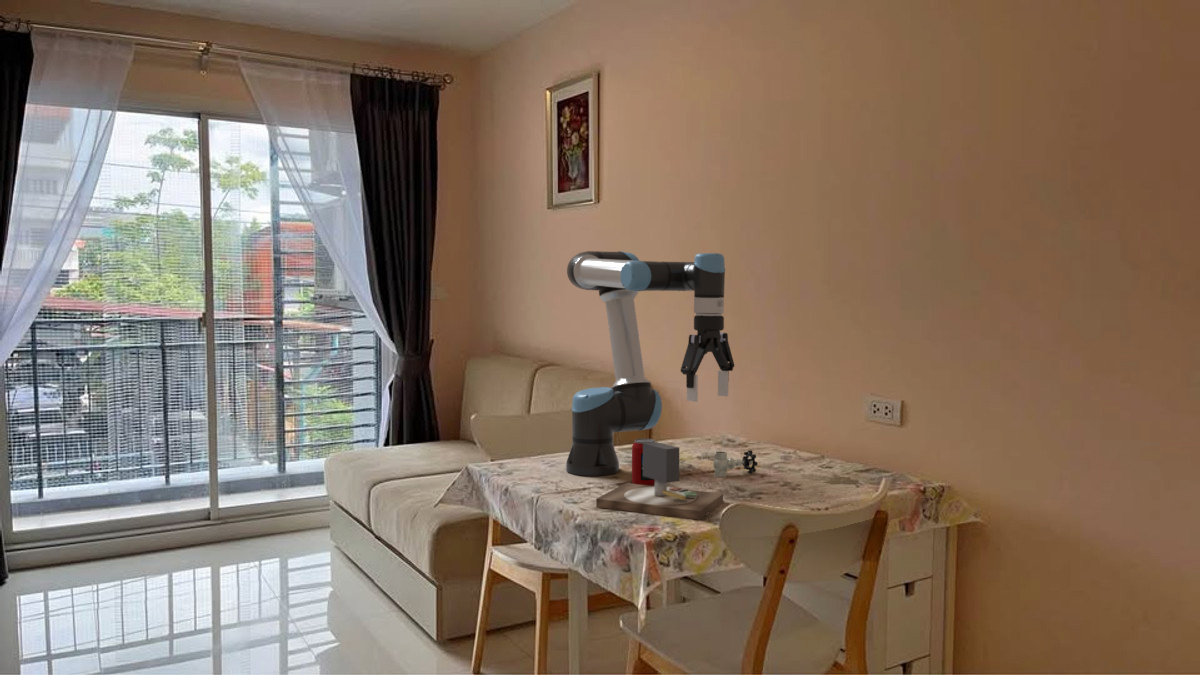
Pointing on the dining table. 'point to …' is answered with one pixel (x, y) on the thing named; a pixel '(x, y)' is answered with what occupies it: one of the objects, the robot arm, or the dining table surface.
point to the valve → (733, 463)
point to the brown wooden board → (660, 501)
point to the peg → (661, 466)
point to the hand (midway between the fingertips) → (707, 398)
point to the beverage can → (639, 463)
